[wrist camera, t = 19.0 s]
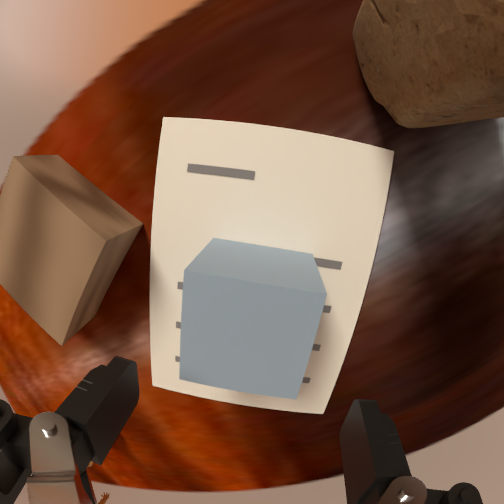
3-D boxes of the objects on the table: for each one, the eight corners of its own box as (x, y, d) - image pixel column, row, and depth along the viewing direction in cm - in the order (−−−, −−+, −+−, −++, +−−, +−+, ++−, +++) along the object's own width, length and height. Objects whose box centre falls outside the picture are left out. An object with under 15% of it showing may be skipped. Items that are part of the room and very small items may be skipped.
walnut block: (145, 223, 19) (106, 240, 14) (96, 314, 21) (61, 345, 17) (59, 154, 18) (13, 156, 13) (24, 248, 21) (-15, 265, 16)
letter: (392, 151, 16) (394, 151, 16) (322, 411, 22) (323, 414, 21) (165, 117, 17) (163, 117, 16) (153, 383, 22) (152, 385, 22)
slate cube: (312, 253, 18) (327, 293, 12) (293, 339, 20) (296, 399, 14) (213, 237, 18) (184, 270, 12) (204, 324, 20) (179, 379, 14)
